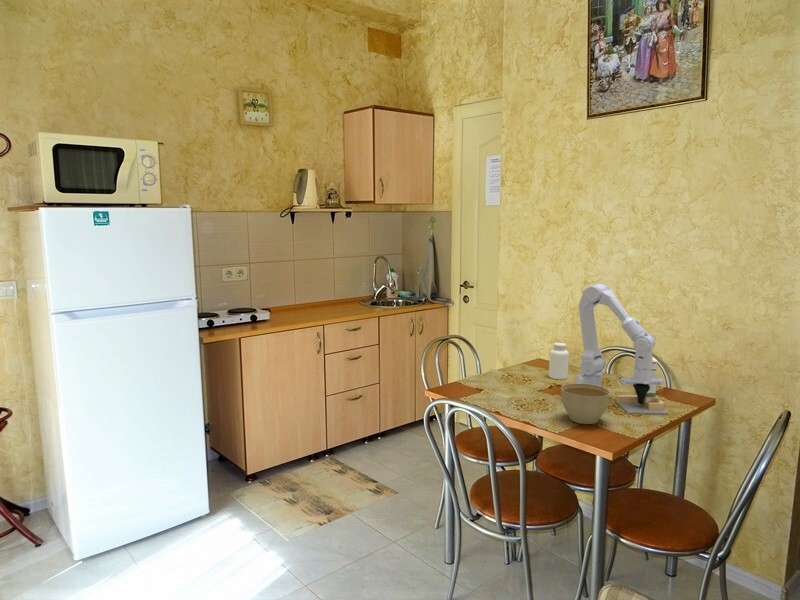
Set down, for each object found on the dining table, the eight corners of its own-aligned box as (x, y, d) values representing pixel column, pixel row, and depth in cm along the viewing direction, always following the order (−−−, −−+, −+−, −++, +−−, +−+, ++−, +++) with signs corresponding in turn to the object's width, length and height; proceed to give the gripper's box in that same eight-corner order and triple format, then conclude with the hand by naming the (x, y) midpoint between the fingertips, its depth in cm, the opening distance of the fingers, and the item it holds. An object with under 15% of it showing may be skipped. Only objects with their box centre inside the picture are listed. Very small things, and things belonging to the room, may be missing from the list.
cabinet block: (646, 408, 203) (647, 395, 202) (641, 404, 207) (642, 391, 206) (658, 408, 203) (659, 395, 202) (653, 404, 207) (654, 391, 206)
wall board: (628, 413, 199) (629, 405, 198) (616, 402, 211) (616, 394, 210) (668, 414, 199) (668, 406, 198) (653, 403, 211) (654, 395, 210)
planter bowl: (615, 419, 193) (617, 389, 192) (596, 432, 181) (599, 400, 180) (571, 408, 204) (573, 379, 202) (551, 420, 192) (552, 389, 190)
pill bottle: (567, 380, 239) (569, 346, 237) (548, 379, 241) (549, 345, 239) (567, 375, 247) (569, 342, 244) (548, 374, 249) (550, 341, 247)
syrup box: (655, 396, 219) (658, 360, 216) (639, 395, 220) (642, 359, 218) (652, 392, 224) (654, 357, 222) (636, 391, 225) (639, 356, 223)
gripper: (627, 370, 200) (624, 406, 202) (667, 370, 200) (664, 407, 202) (619, 365, 207) (617, 400, 209) (659, 365, 207) (656, 400, 209)
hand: (640, 403), depth 206 cm, fingers closed
